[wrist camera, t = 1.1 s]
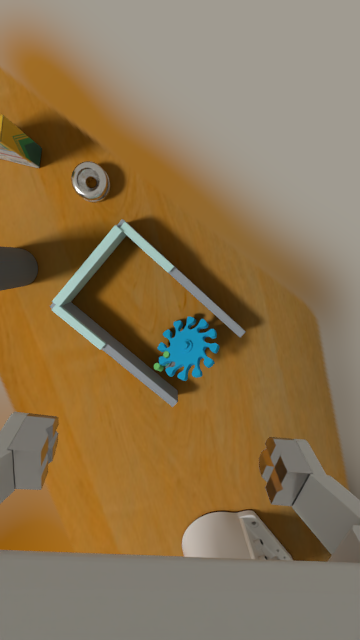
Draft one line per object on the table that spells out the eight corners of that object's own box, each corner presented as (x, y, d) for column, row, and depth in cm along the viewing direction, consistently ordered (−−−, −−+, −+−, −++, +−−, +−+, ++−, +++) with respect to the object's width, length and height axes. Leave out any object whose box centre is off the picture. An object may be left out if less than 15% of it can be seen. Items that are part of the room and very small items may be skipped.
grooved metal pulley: (82, 206, 44) (115, 198, 44) (76, 203, 41) (110, 193, 41) (72, 171, 43) (105, 162, 43) (64, 165, 40) (100, 155, 40)
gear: (201, 303, 46) (226, 359, 40) (214, 318, 51) (238, 370, 45) (143, 337, 48) (159, 393, 43) (161, 348, 53) (177, 400, 48)
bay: (239, 325, 48) (247, 333, 43) (172, 395, 51) (172, 410, 46) (126, 222, 45) (120, 218, 40) (60, 302, 47) (46, 307, 42)
